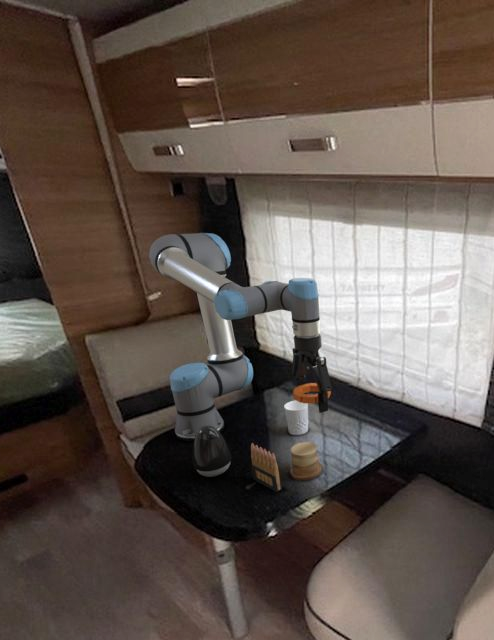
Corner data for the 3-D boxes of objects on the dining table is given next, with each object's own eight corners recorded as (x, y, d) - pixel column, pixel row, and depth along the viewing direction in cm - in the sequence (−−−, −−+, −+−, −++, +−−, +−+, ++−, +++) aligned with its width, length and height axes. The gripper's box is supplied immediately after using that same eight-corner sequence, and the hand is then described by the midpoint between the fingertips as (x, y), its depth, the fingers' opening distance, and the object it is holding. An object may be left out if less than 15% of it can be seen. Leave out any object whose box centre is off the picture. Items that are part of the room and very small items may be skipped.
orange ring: (287, 395, 125) (287, 389, 124) (317, 386, 132) (316, 380, 131) (306, 406, 118) (306, 400, 117) (336, 396, 125) (336, 390, 124)
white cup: (282, 432, 146) (279, 407, 142) (297, 423, 152) (295, 398, 148) (299, 438, 142) (296, 412, 138) (314, 428, 149) (312, 403, 145)
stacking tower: (284, 471, 125) (281, 448, 121) (310, 459, 131) (308, 437, 128) (301, 484, 119) (299, 460, 116) (328, 471, 125) (326, 448, 122)
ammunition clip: (282, 488, 117) (277, 452, 112) (277, 492, 116) (272, 455, 111) (258, 475, 122) (252, 440, 118) (252, 478, 121) (247, 443, 116)
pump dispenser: (204, 486, 117) (194, 439, 111) (190, 471, 124) (179, 426, 118) (239, 471, 124) (232, 426, 118) (224, 458, 130) (216, 414, 125)
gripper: (274, 328, 122) (282, 397, 131) (319, 346, 108) (324, 422, 116) (297, 324, 127) (303, 390, 136) (342, 341, 113) (346, 413, 121)
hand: (313, 405), depth 126 cm, fingers closed on orange ring, 10 cm apart
